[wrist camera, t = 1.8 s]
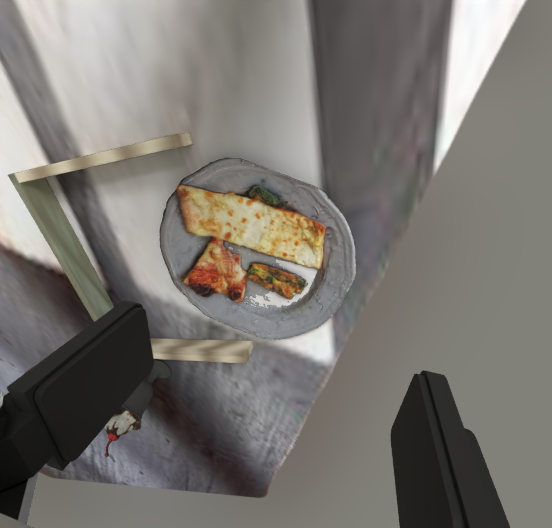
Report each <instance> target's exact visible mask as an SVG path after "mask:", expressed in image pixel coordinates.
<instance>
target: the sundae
mask: <svg viewBox="0 0 552 528" xmlns="http://www.w3.org/2000/svg"><path fill="white" fill-rule="evenodd" d="M151 372H152V373H151V375H150V376H149V378H148V379H147V380H146V381H142V382H141V384H140V385H139V386H138V387H137V388H136V390H135V391H134V392H133V393H132V394H131V395H130V397H129V398H128V399H127V400H126V401H125V403H124V404H123V405H122V406H121V407H120V409H119V410H118V411H117V412H116V413H115V414H114V416H113V417H112V418H111V419H110V420H109V422H108V423H107V424H106V425H105V430H106V432H107V434H108V439H109V442H108V444H107V447H106V454H105V456H106V457H108V456H109V454H108V446H109V444H110V443H111V442H112V441H113V440H114V441H116V440H118V439H119V437H120V436H121V435H124V434H127V433H128V432H129V431H131V430H132V429H133V430H138V429H140V428H141V418H142V415H143V413H144V411H145V409H146V407H147V406H148V404H149V402H150V400H151V398H152V395H153V388H152V382H153V381H154V380H155V379H156V378H157V377H160V378H168V377H169V376H170V375H171V371H170V368H169V367H168V366H167V365H166V364H165V363H164V362H162V361H160V360H158V359H154V366H153V368H152V370H151ZM110 440H111V441H110Z"/></svg>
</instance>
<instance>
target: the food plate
mask: <svg viewBox="0 0 552 528" xmlns="http://www.w3.org/2000/svg"><path fill="white" fill-rule="evenodd" d="M242 160H243V159H241V158H240V159H239V158H238V159H237V158H236V159H235V158H234V159H233V158H230V159H229V158H225V159H220V160H217V161H214V162H210V164H208V165H206V166H204V167H202V168H201V169H200V170H198V171H197V172H195V173H193V174H191V175H190V176H187V177H186V178H183V179H182V181H181V182H180V184H179V186H177V190H176V191H175V192H174V193H173V194H172V195H171V197H170V198H169V199H168V201H167V204H166V208H165V210H164V213H163V219H162V223H161V226H160V247H161V252H162V255H163V259H164V261H165V263H166V266H167V268H168V271H169V273H170V275H171V279H172V280H173V282H174V284H175V286H176V287H177V288H178V289H179V290H180V291H181V292H182V293H183V294H184V295H186V297H187V298H188V300H189V301H190V302H191V303H192V304H193V305H195V306H196V307H197V308H199V310H201V311H202V312H203V313H204V314H205V315H206V316H209V317H210V318H213V319H215V320H217V321H219V322H223V323H224V324H228V325H230V326H232V327H234V328H236V329H239V330H243V331H244V332H246V333H249V334H255V335H256V336H257V337H258V336H259V337H260V338H264V339H274V340H276V339H285V338H291V337H293V336H297V335H300V334H303V333H306V332H308V331H311V330H314V329H315V328H318V327H319V326H321V325H322V324H324V323H325V322H326V321H327V320H328V319H329V318H331V317H332V316H333V315H335V314H334V313H335V312H336V311H337V310H338V308H339V307H340V305H341V304H342V302H343V300H344V298H345V296H346V294H347V292H348V290H349V289H350V286H351V285H352V283H353V280H354V279H355V276H356V265H355V264H356V262H355V261H356V260H355V255H356V253H355V246H354V242H353V241H354V239H353V237H352V234H351V230H350V228H349V224H347V221H346V220H345V218H344V216H343V215H342V212H340V210H339V208H337V206H336V205H334V203H333V202H332V201H331V200H330V199H329V198H328V197H327V195H326V194H325V193H324V191H322V190H321V189H318V188H316V187H315V186H314V187H313V185H310V184H307V183H305V182H301V181H299V180H296V179H293V178H291V177H289V176H286V175H283V174H281V173H278V172H275V171H273V170H270V169H267V168H264V167H262V166H259V165H256V164H254V163H253V164H252V163H251V162H248V161H246V160H244V161H242ZM245 161H246V162H245ZM229 246H231V247H233V251H231V250H229V248H228V247H229ZM249 254H250V255H249ZM276 258H277V259H278V260H283V261H286V262H287V261H288V262H293V263H295V264H301V265H304V266H308V267H315V268H317V269H318V271H317V274H316V276H315V278H314V281H313V283H312V285H311V287H310V290H309V292H308V293H307V294H305V295H304V296H303V298H302V299H301V298H300V299H299V300H298V301H297V302H292V304H291V305H289V306H283V305H282V306H281V308H280V307H278V308H277V306H274V305H273V306H272V305H267V307H269V309H267V308H264V307H265V304H263V305H264V307H260V306H258V305H259V303H257V302H255V301H254V300H253V299H252V300H253V301H254V302H255V304H257V305H255V304H254V303H252V302H251V300H250V298H249V296H253V298H256V295H255V294H257V295H260V296H263V297H264V300H268V297H267V296H266V299H265V294H267V293H269V291H270V290H271V291H272V292H276V293H277V294H280V295H281V296H283V297H284V298H287V299H292V298H293V297H294V295H295V294H296V293H300V294H301V292H302V290H304V287H305V285H308V283H307V282H306V279H304V278H302V277H301V276H299V275H297V274H295V273H292V272H290V271H288V270H287V269H286V270H285V269H283V268H282V266H281V267H280V266H279V264H278V263H276ZM265 260H266V261H265ZM273 264H274V266H273ZM260 290H261V291H260ZM252 293H254V294H253V295H252ZM246 296H248V298H246V299H244V297H246ZM247 300H248V301H247ZM268 301H270V300H268ZM244 302H248V305H250V304H253V305H254V306H257V307H253V306H251V305H250V306H248V305H247V303H244ZM288 302H289V301H288ZM240 307H241V308H240Z"/></svg>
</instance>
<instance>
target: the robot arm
mask: <svg viewBox="0 0 552 528" xmlns="http://www.w3.org/2000/svg"><path fill="white" fill-rule="evenodd" d="M153 366H154V358H153V352H152V346H151V340H150V334H149V328H148V322H147V317H146V311H145V309H143V307H142V305H141V304H139V303H135V302H131V301H126V300H125V301H122V302H120V303H119V304H118V305H116V306H115V307H114V308H112V309H111V310H110V311H108V312H107V313H106V314H104V315H103V316H102V317H100V318H99V319H98V320H96V321H95V322H94V323H92V324H91V325H90V326H88V327H87V328H86V329H84V330H83V331H82V332H80V333H79V334H78V335H76V336H75V337H74V338H72V339H71V340H69V341H68V342H67V343H65V344H64V345H63V346H61V347H60V348H59V349H57V350H56V351H55V352H53V353H52V354H51V355H49V356H48V357H47V358H45V359H44V360H43V361H41V362H40V363H39V364H37V365H36V366H35V367H33V368H32V369H31V370H29V371H28V372H27V373H25V374H24V375H23V376H21V377H20V378H19V379H17V380H16V381H14V382H13V383H12V384H10V385H9V386H8V387H7V389H8V391H9V393H8V394H6V395H5V396H4V397H3V395H2V393H1V392H0V528H33V527H31V526H29V525H27V520H28V516H29V512H30V508H31V503H32V499H33V494H34V490H35V486H36V481H37V476H38V473H39V470H40V469H41V468H42V467H43V466H44V465H45V464H46V463H47V465H48V466H51V467H53V468H56V469H58V470H61V471H63V470H64V468H65V467H66V466H67V465H68V464H69V463H70V461H74V460H76V459H77V458H78V457H79V456H80V455H81V454H82V452H83V451H84V450H85V449H86V448H87V447H88V445H89V444H90V443H91V442H92V441H93V439H94V438H95V437H96V436H97V435H98V433H99V432H100V431H101V430H102V429H103V428H104V426H105V425H106V424H107V423H108V422H109V420H110V419H111V418H112V417H113V416H114V414H115V413H116V412H117V411H118V410H119V409H120V407H121V406H122V405H123V404H124V403H125V401H126V400H127V399H128V398H129V397H130V395H131V394H132V393H133V392H134V391H135V390H136V388H137V387H138V386H139V385H140V384H141V382H142V381H143V380H144V379H145V378H146V376H147V375H148V374H149V373H150V372H151V370H152V368H153ZM391 447H392V456H393V465H394V475H395V485H396V494H397V504H398V514H399V523H400V528H510V526H509V523H508V520H507V518H506V515H505V512H504V510H503V507H502V505H501V502H500V499H499V497H498V494H497V491H496V489H495V486H494V484H493V481H492V478H491V476H490V473H489V470H488V468H487V465H486V463H485V460H484V457H483V455H482V452H481V449H480V447H479V444H478V442H477V439H476V437H475V435H474V434H473V433H472V432H471V431H470V430H468V429H465V428H464V427H463V424H462V421H461V418H460V415H459V413H458V409H457V407H456V404H455V401H454V398H453V395H452V392H451V390H450V387H449V384H448V381H447V379H446V377H445V376H444V375H441V374H437V373H432V372H429V371H422V372H421V373H420V374H414V376H413V378H412V381H411V383H410V386H409V388H408V391H407V393H406V395H405V397H404V400H403V402H402V405H401V407H400V409H399V412H398V414H397V417H396V419H395V421H394V424H393V426H392V429H391Z"/></svg>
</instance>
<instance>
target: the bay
mask: <svg viewBox="0 0 552 528" xmlns="http://www.w3.org/2000/svg"><path fill="white" fill-rule="evenodd" d="M191 144H192V141H191V137H190V134H189V133H183V134H175V135H169V136H165V137H161V138H157V139H153V140H149V141H145V142H141V143H137V144H132V145H128V146H124V147H120V148H116V149H112V150H108V151H104V152H100V153H95V154H91V155H87V156H83V157H79V158H75V159H71V160H67V161H63V162H59V163H54V164H50V165H46V166H42V167H38V168H34V169H30V170H26V171H22V172H17V173H13V174H9V175H8V176H9V178H10V180H11V181H12V183H13V185H14V186H15V188H16V190H17V192H18V193H19V195H20V197H21V198H22V200H23V202H24V203H25V205H26V207H27V209H28V210H29V212H30V214H31V215H32V217H33V219H34V220H35V222H36V224H37V226H38V227H39V229H40V231H41V232H42V234H43V236H44V237H45V239H46V241H47V242H48V244H49V246H50V248H51V249H52V251H53V253H54V254H55V256H56V258H57V259H58V261H59V263H60V265H61V266H62V268H63V270H64V271H65V273H66V275H67V276H68V278H69V280H70V282H71V283H72V285H73V287H74V288H75V290H76V292H77V293H78V295H79V297H80V298H81V300H82V302H83V304H84V305H85V307H86V309H87V310H88V312H89V314H90V315H91V317H92V319H93V321H94V322H95V321H96V320H98V319H99V318H100V317H102V316H103V315H104V314H106V313H107V312H108V311H110V310H111V309H112V308H114V305H113V303H112V302H111V300H110V298H109V296H108V294H107V292H106V290H105V288H104V287H103V285H102V283H101V281H100V279H99V277H98V275H97V274H96V272H95V270H94V268H93V266H92V264H91V262H90V260H89V259H88V257H87V255H86V253H85V251H84V249H83V247H82V246H81V244H80V242H79V240H78V238H77V236H76V234H75V232H74V231H73V229H72V227H71V225H70V223H69V221H68V219H67V218H66V216H65V214H64V212H63V210H62V208H61V206H60V205H59V203H58V201H57V199H56V197H55V195H54V193H53V191H52V190H51V188H50V186H49V184H48V182H47V180H46V178H45V177H49V176H53V175H58V174H62V173H67V172H71V171H76V170H80V169H84V168H89V167H93V166H98V165H102V164H107V163H111V162H116V161H120V160H124V159H129V158H133V157H138V156H142V155H147V154H151V153H156V152H160V151H164V150H169V149H173V148H178V147H182V146H187V145H191ZM150 340H151V346H152V352H153V358H154V359H169V360H189V361H209V362H228V363H247V361H248V358H249V356H250V354H251V351H252V349H253V347H254V346H253V343H252V341H240V340H198V339H155V338H150Z"/></svg>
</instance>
